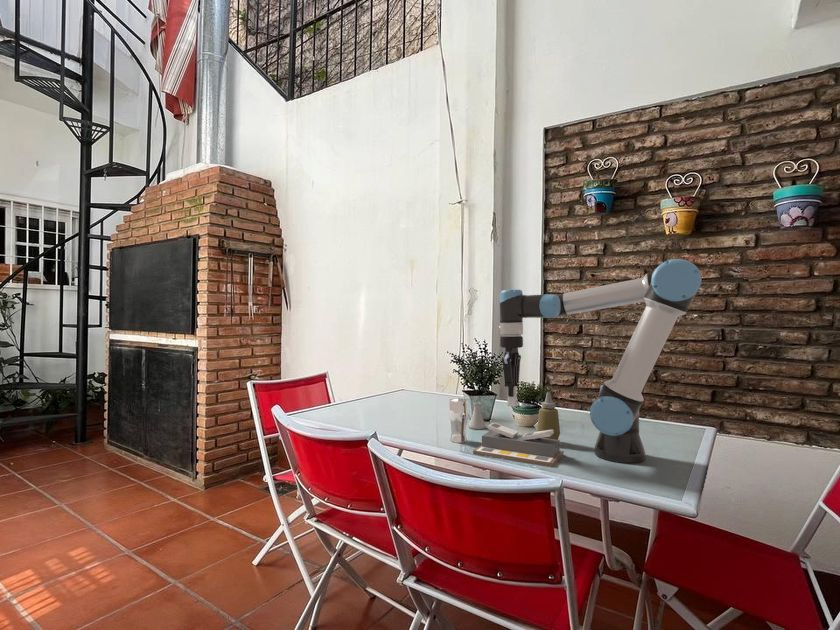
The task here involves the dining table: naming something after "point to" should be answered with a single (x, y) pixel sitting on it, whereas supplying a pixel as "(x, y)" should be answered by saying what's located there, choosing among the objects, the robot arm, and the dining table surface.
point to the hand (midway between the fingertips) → (512, 405)
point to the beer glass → (458, 419)
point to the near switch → (538, 434)
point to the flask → (477, 418)
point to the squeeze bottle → (549, 418)
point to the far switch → (503, 430)
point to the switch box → (520, 449)
